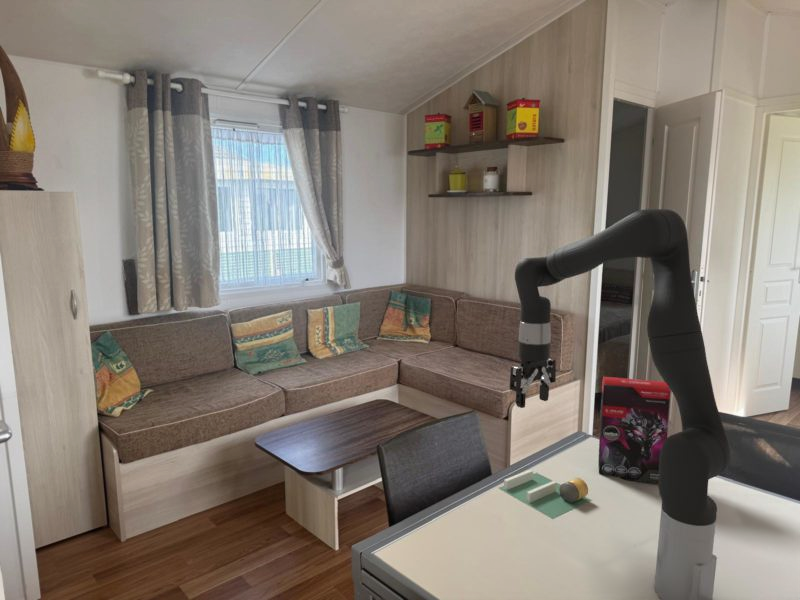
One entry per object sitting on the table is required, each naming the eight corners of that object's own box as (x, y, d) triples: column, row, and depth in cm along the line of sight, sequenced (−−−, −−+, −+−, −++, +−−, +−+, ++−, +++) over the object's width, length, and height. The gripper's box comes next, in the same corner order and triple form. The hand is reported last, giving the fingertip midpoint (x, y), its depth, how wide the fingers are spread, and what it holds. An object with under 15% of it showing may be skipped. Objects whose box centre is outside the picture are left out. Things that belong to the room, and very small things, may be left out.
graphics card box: (597, 477, 156) (603, 382, 151) (596, 466, 163) (602, 375, 158) (664, 486, 151) (673, 388, 147) (660, 474, 158) (669, 381, 153)
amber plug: (587, 500, 142) (588, 482, 141) (574, 506, 139) (575, 488, 138) (571, 492, 146) (572, 474, 145) (558, 498, 143) (559, 480, 142)
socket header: (555, 491, 146) (556, 482, 146) (529, 502, 141) (529, 493, 140) (529, 478, 154) (530, 469, 153) (503, 488, 148) (504, 479, 147)
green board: (591, 502, 142) (591, 500, 142) (552, 521, 134) (552, 518, 134) (536, 475, 157) (536, 472, 157) (497, 490, 148) (498, 487, 148)
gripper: (526, 346, 130) (524, 414, 132) (565, 338, 138) (563, 401, 141) (502, 340, 136) (501, 405, 138) (541, 333, 144) (539, 394, 147)
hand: (532, 403), depth 139 cm, fingers open, 8 cm apart
